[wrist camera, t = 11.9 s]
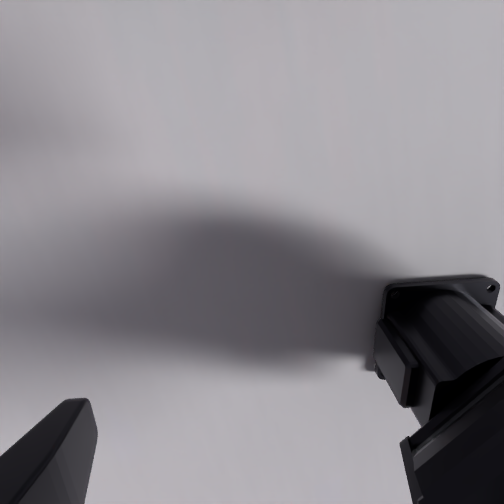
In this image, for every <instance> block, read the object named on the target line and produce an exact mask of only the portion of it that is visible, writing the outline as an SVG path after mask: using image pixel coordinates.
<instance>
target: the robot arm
mask: <svg viewBox="0 0 504 504" xmlns="http://www.w3.org/2000/svg"><path fill="white" fill-rule="evenodd" d="M490 285H491V286H490ZM488 286H490V288H488V289H487V287H488ZM499 289H500V285H499V283H498V282H497V281H495V280H494V279H493V278H475V279H459V280H444V281H428V282H413V283H397V284H390V285H388V286H387V287H386V288H385V290H384V294H383V303H382V312H381V319H379V320H378V322H377V324H376V334H375V343H374V352H373V357H374V359H375V360H376V365H375V372H376V374H377V376H378V377H379V378H380V379H384V380H386V381H387V383H388V384H389V386H390V388H391V390H392V392H393V394H394V395H395V397H396V399H397V401H398V403H399V404H400V405H401V406H402V407H403V408H409V407H410V408H411V410H412V411H413V413H414V415H415V417H416V418H417V420H418V422H419V424H420V425H421V428H420V429H419V430H418V431H416V432H415V433H414V434H413V435H412V436H411V437H409V436H407V437H406V438H405V439H404V440H402V441H401V442H400V448H401V453H402V457H403V462H404V466H405V471H406V475H407V480H408V484H409V489H410V493H411V498H412V502H413V504H504V316H503V315H502V314H501V313H500V312H499V311H497V310H496V309H495V305H496V301H497V297H498V293H499ZM394 291H397V292H396V294H395V295H391V293H392V292H394ZM97 437H98V432H97V426H96V422H95V418H94V414H93V411H92V407H91V403H90V401H89V400H88V399H87V398H75V399H67V400H64V401H63V402H62V403H60V404H59V405H58V406H57V407H56V408H55V409H54V410H52V411H51V412H50V413H49V414H48V415H47V416H46V417H44V418H43V419H42V420H41V421H40V422H39V423H38V424H37V425H35V426H34V427H33V428H32V429H31V430H30V431H29V432H27V433H26V434H25V435H24V436H23V437H22V438H21V439H19V440H18V441H17V442H16V443H15V444H14V445H13V446H11V447H10V448H9V449H8V450H7V451H6V452H5V453H4V454H2V455H1V456H0V504H84V502H85V498H86V493H87V488H88V483H89V478H90V473H91V468H92V464H93V459H94V454H95V449H96V444H97Z"/></svg>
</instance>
